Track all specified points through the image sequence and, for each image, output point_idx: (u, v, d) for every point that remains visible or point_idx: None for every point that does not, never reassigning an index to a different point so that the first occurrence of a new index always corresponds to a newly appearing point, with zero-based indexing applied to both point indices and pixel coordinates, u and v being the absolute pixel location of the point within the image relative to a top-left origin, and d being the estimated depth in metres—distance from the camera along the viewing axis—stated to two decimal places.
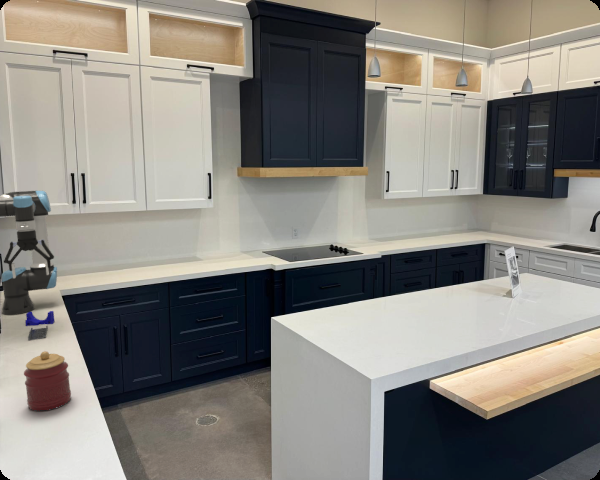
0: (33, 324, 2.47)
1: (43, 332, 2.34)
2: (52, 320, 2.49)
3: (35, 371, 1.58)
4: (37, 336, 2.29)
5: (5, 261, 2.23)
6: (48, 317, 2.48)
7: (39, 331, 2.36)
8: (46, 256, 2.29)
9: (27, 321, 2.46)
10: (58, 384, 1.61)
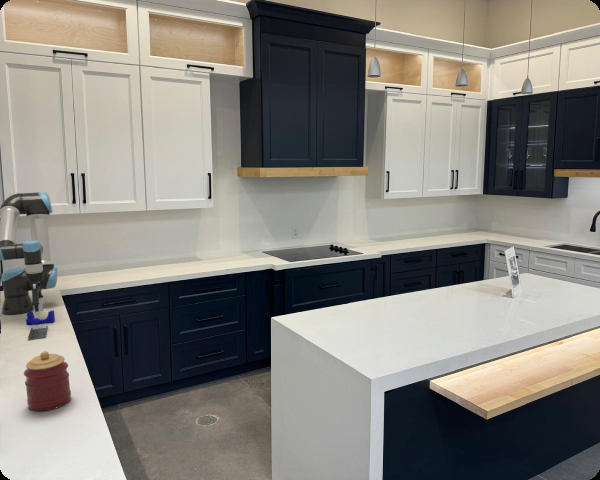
0: (34, 324, 2.48)
1: (43, 332, 2.34)
2: (53, 319, 2.50)
3: (35, 371, 1.58)
4: (37, 336, 2.29)
5: None
6: (49, 316, 2.49)
7: (39, 331, 2.36)
8: None
9: (28, 320, 2.47)
10: (58, 384, 1.61)
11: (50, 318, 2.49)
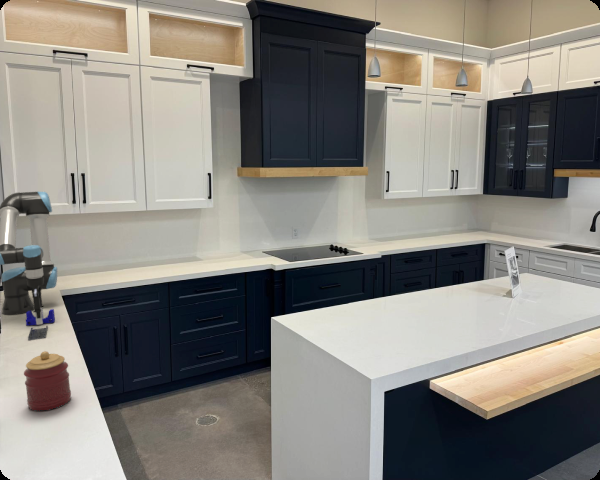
0: (34, 323, 2.46)
1: (43, 332, 2.34)
2: (53, 318, 2.50)
3: (35, 371, 1.58)
4: (37, 336, 2.29)
5: None
6: (49, 315, 2.48)
7: (39, 331, 2.36)
8: None
9: (28, 320, 2.46)
10: (58, 384, 1.61)
11: (51, 317, 2.49)
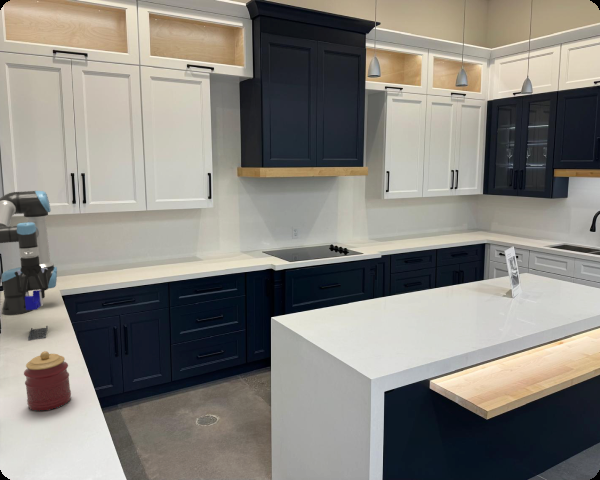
0: (39, 305, 2.30)
1: (43, 332, 2.34)
2: None
3: (35, 370, 1.58)
4: (37, 336, 2.29)
5: (19, 291, 2.27)
6: None
7: (39, 331, 2.36)
8: (42, 287, 2.31)
9: (37, 303, 2.27)
10: (58, 384, 1.61)
11: None
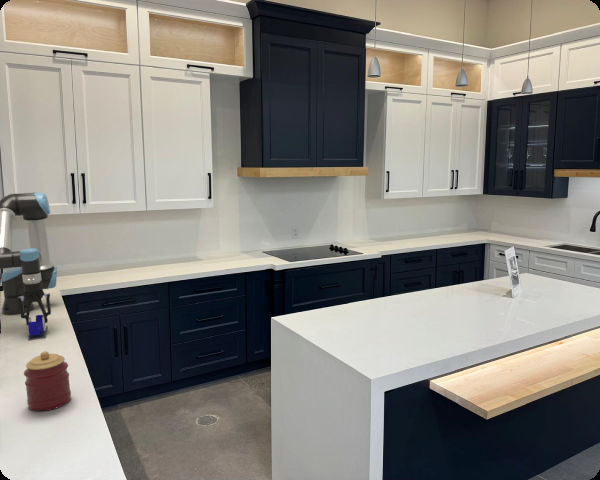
0: (42, 330, 2.32)
1: (43, 332, 2.34)
2: None
3: (35, 371, 1.58)
4: (37, 336, 2.29)
5: (22, 316, 2.29)
6: None
7: None
8: (45, 312, 2.33)
9: (39, 329, 2.29)
10: (58, 384, 1.61)
11: None
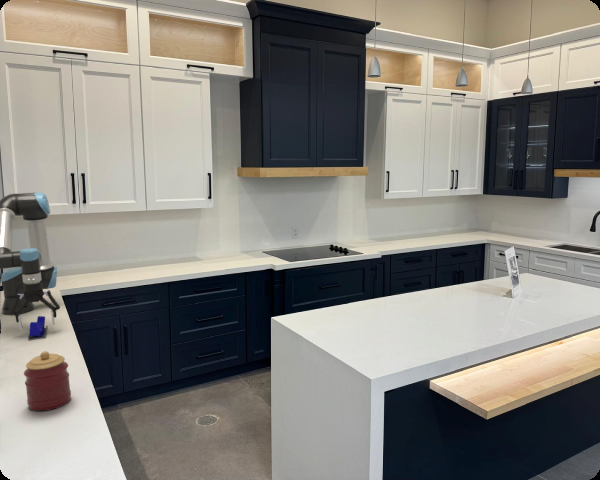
0: (42, 332, 2.32)
1: None
2: None
3: (35, 370, 1.58)
4: (37, 336, 2.29)
5: (12, 313, 2.27)
6: (44, 322, 2.38)
7: None
8: (52, 307, 2.33)
9: (41, 330, 2.29)
10: (58, 384, 1.61)
11: (44, 323, 2.39)
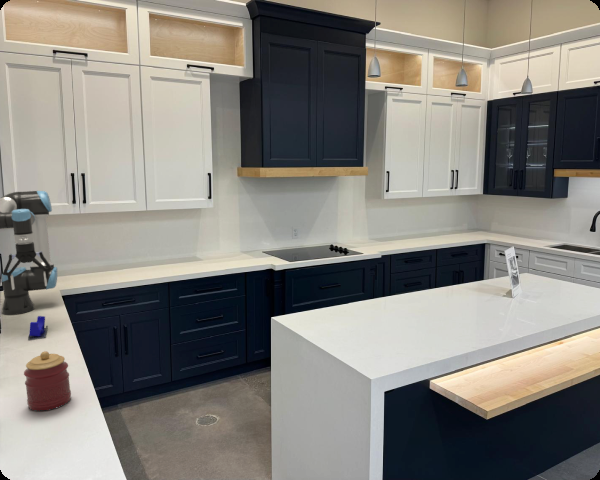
0: (42, 332, 2.32)
1: None
2: None
3: (35, 371, 1.58)
4: (37, 336, 2.29)
5: (4, 273, 2.29)
6: (43, 322, 2.38)
7: None
8: (44, 268, 2.35)
9: (41, 330, 2.29)
10: (58, 384, 1.61)
11: (44, 323, 2.39)
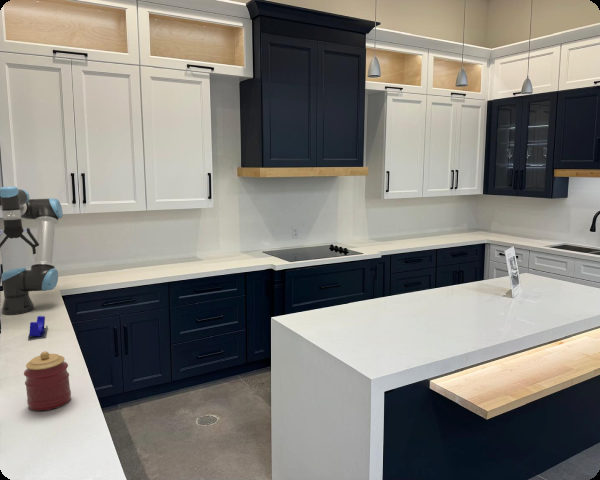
0: (42, 332, 2.32)
1: None
2: None
3: (35, 371, 1.58)
4: (37, 336, 2.29)
5: None
6: (43, 322, 2.38)
7: None
8: (31, 243, 2.43)
9: (40, 330, 2.29)
10: (58, 384, 1.61)
11: (44, 323, 2.39)
